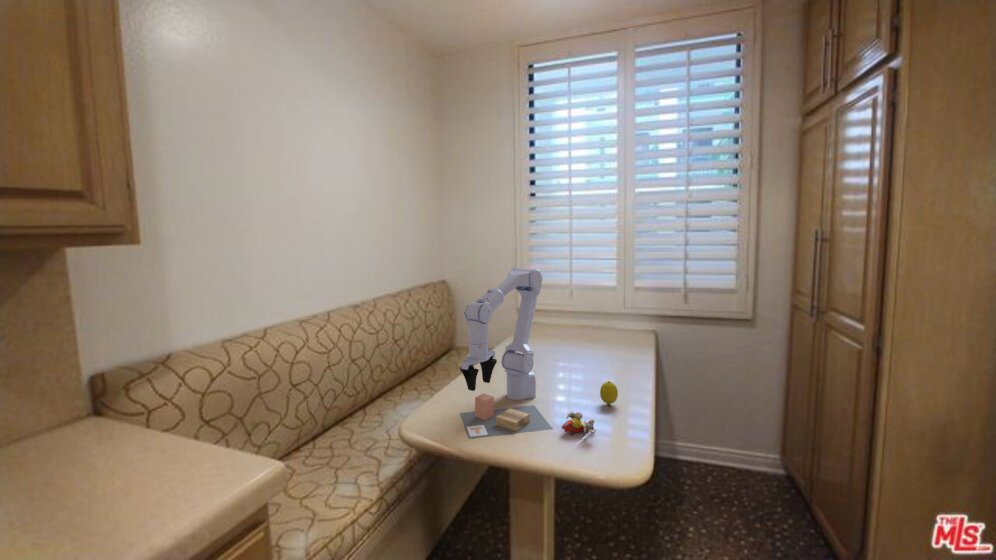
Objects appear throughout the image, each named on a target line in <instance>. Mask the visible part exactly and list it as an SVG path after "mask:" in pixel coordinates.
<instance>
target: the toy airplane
mask: <svg viewBox="0 0 996 560" xmlns="http://www.w3.org/2000/svg"><path fill="white" fill-rule="evenodd" d="M566 414H567V416H566V419H569V418H571V419H569V420H566V421H565V422H564V423H563V425H561V429H563V431H564V432H565V433H567V434H568V435H569V436H570V437H572V436H575V433H581V432H584V433H586V432H589V433H590V434H593V435H594V434H596V432H597V429H596V428H595V427H594V423H595V420H594V419H590V420H588V421H587V422H586V421H582V420H581V419H582V418H583V417H584V414H583V413H582V412H581V411H577V412H576V413H574V411H573V410H572V411H570V412H569V413H566Z"/></svg>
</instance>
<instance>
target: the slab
mask: <svg viewBox="0 0 996 560" xmlns="http://www.w3.org/2000/svg"><path fill="white" fill-rule="evenodd" d="M509 408H510V409H508V410H506V411H505V412H503V413H501V414H500V415H498V416H496V425H499V426H502V427H505V428H508V429H511V430H514V431H517V430H519V429H520V428H522V427H523V426H525V425H526V424H528V423H529V422H530V414H528V413H524V412H521V411H517V410H514V409H511V408H512V407H509Z"/></svg>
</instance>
